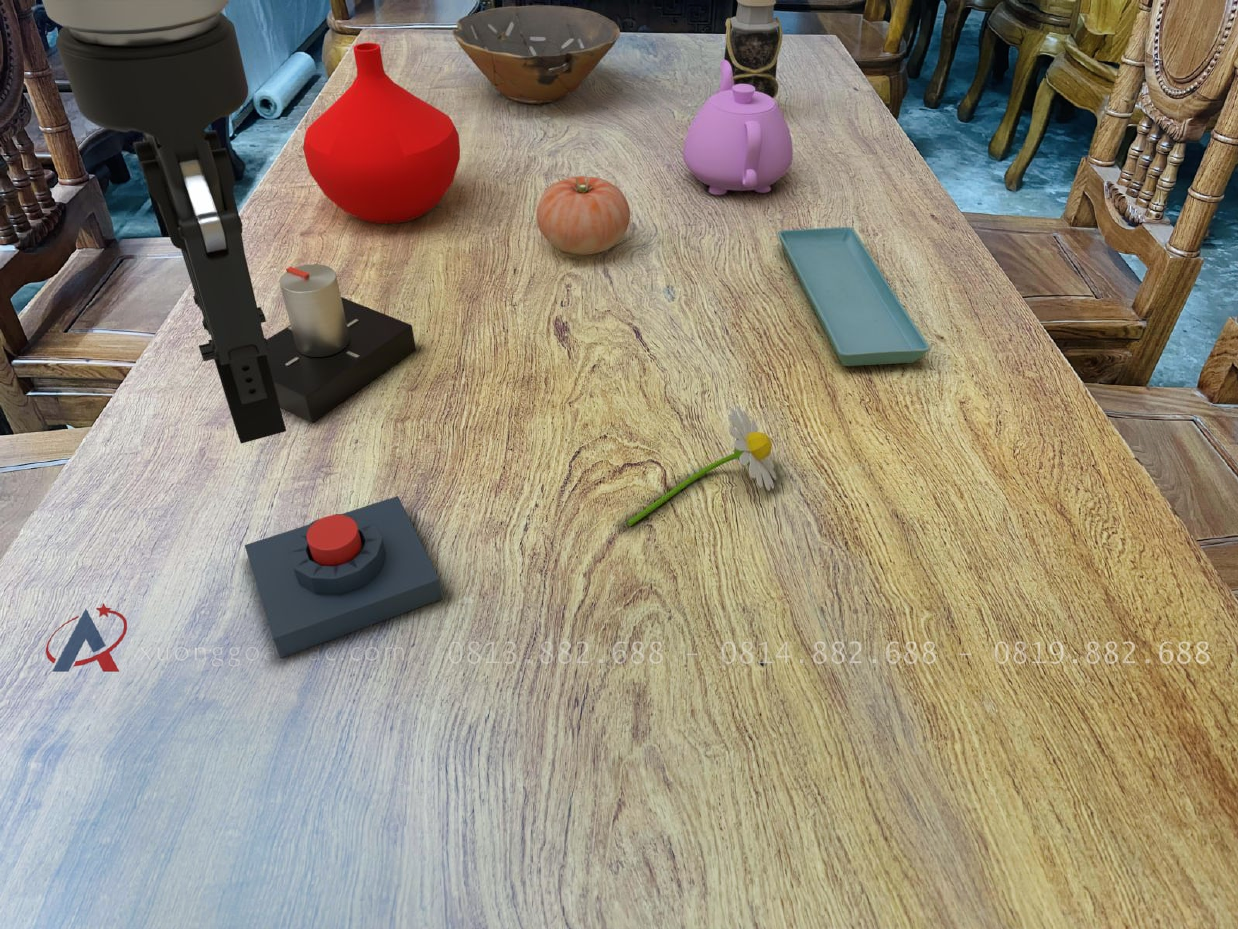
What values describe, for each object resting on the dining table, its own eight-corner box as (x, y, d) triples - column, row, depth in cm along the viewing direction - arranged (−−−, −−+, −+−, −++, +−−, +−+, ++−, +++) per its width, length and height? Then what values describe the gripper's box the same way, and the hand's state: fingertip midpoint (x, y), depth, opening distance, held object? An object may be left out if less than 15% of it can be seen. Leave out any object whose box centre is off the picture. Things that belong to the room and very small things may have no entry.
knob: (360, 337, 91) (347, 270, 86) (323, 363, 88) (306, 295, 83) (323, 322, 93) (307, 255, 88) (284, 346, 90) (266, 279, 85)
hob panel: (312, 423, 86) (305, 395, 84) (237, 387, 90) (228, 360, 88) (416, 350, 95) (412, 323, 93) (344, 320, 99) (338, 294, 97)
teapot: (668, 148, 132) (673, 58, 124) (767, 144, 134) (777, 55, 126) (694, 213, 118) (701, 116, 110) (805, 208, 119) (820, 112, 111)
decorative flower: (647, 468, 71) (770, 385, 79) (604, 482, 76) (723, 402, 84) (696, 557, 72) (813, 465, 80) (650, 565, 77) (764, 478, 85)
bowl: (638, 115, 141) (639, 46, 135) (474, 132, 136) (467, 61, 129) (594, 60, 159) (594, -4, 153) (448, 73, 154) (441, 7, 148)
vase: (454, 242, 112) (434, 76, 99) (299, 239, 112) (260, 74, 99) (475, 175, 125) (460, 22, 113) (337, 173, 126) (307, 20, 113)
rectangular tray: (774, 245, 112) (776, 226, 110) (849, 242, 112) (853, 222, 111) (836, 375, 92) (840, 354, 91) (926, 370, 93) (932, 349, 91)
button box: (280, 658, 66) (266, 622, 64) (251, 564, 73) (238, 528, 70) (443, 598, 71) (436, 562, 68) (401, 515, 77) (394, 479, 75)
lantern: (769, 105, 145) (789, -79, 128) (779, 126, 139) (802, -65, 122) (712, 106, 144) (726, -79, 128) (720, 127, 138) (735, -65, 122)
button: (318, 573, 68) (313, 556, 66) (306, 540, 70) (301, 524, 69) (367, 556, 69) (363, 539, 68) (354, 525, 71) (350, 508, 70)
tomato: (567, 277, 106) (565, 211, 100) (521, 238, 112) (517, 174, 107) (647, 252, 110) (649, 188, 105) (598, 216, 117) (598, 153, 112)
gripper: (40, -9, 45) (179, 390, 61) (62, 76, 37) (217, 515, 52) (204, -25, 48) (297, 360, 63) (260, 51, 39) (352, 475, 55)
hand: (261, 430), depth 58 cm, fingers closed
